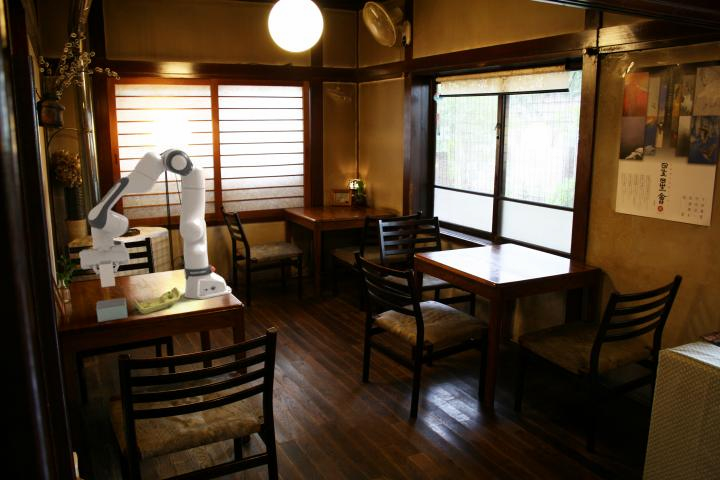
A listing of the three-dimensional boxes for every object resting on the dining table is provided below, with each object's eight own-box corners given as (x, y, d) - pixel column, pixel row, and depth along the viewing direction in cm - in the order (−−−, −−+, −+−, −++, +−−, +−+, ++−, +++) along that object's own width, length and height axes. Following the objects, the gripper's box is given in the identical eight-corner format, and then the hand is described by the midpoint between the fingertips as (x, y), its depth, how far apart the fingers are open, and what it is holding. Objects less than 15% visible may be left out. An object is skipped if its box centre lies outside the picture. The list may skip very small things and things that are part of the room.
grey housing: (115, 282, 268) (112, 259, 266) (115, 285, 263) (112, 262, 261) (101, 284, 266) (98, 261, 264) (101, 287, 261) (98, 263, 259)
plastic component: (141, 310, 264) (132, 297, 270) (142, 322, 268) (133, 309, 274) (183, 297, 276) (174, 285, 282) (183, 309, 280) (174, 296, 286)
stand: (126, 309, 273) (125, 297, 272) (127, 317, 263) (126, 304, 261) (98, 314, 269) (96, 301, 268) (98, 321, 258) (96, 308, 257)
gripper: (77, 246, 263) (80, 272, 256) (127, 241, 271) (130, 266, 264) (79, 254, 268) (82, 280, 261) (127, 248, 276) (131, 273, 269)
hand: (107, 273), depth 263 cm, fingers closed on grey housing, 5 cm apart
